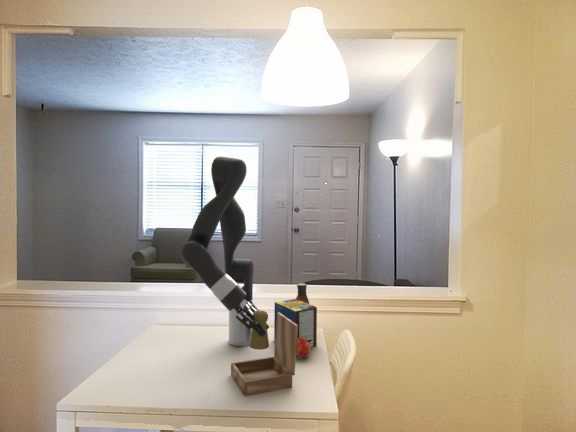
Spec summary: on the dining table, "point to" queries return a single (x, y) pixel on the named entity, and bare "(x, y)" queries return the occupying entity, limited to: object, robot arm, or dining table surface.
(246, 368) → the walnut box
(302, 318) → the protein box
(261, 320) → the olive tapered rounded piece
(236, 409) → the dining table surface
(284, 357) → the box lid
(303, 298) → the sauce bottle
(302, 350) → the pomegranate
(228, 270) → the robot arm
